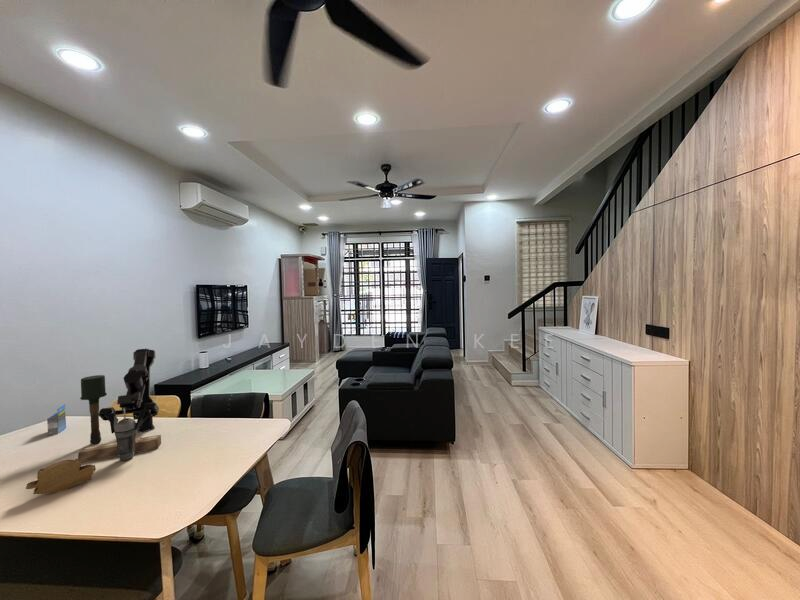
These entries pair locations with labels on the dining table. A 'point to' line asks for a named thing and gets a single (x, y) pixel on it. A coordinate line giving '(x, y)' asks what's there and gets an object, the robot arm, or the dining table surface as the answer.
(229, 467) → the dining table surface
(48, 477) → the wooden carving
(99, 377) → the stick grenade
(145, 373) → the robot arm
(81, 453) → the slotted wooden bar
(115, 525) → the dining table surface
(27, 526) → the dining table surface
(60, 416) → the label tape cartridge
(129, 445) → the beverage cup
